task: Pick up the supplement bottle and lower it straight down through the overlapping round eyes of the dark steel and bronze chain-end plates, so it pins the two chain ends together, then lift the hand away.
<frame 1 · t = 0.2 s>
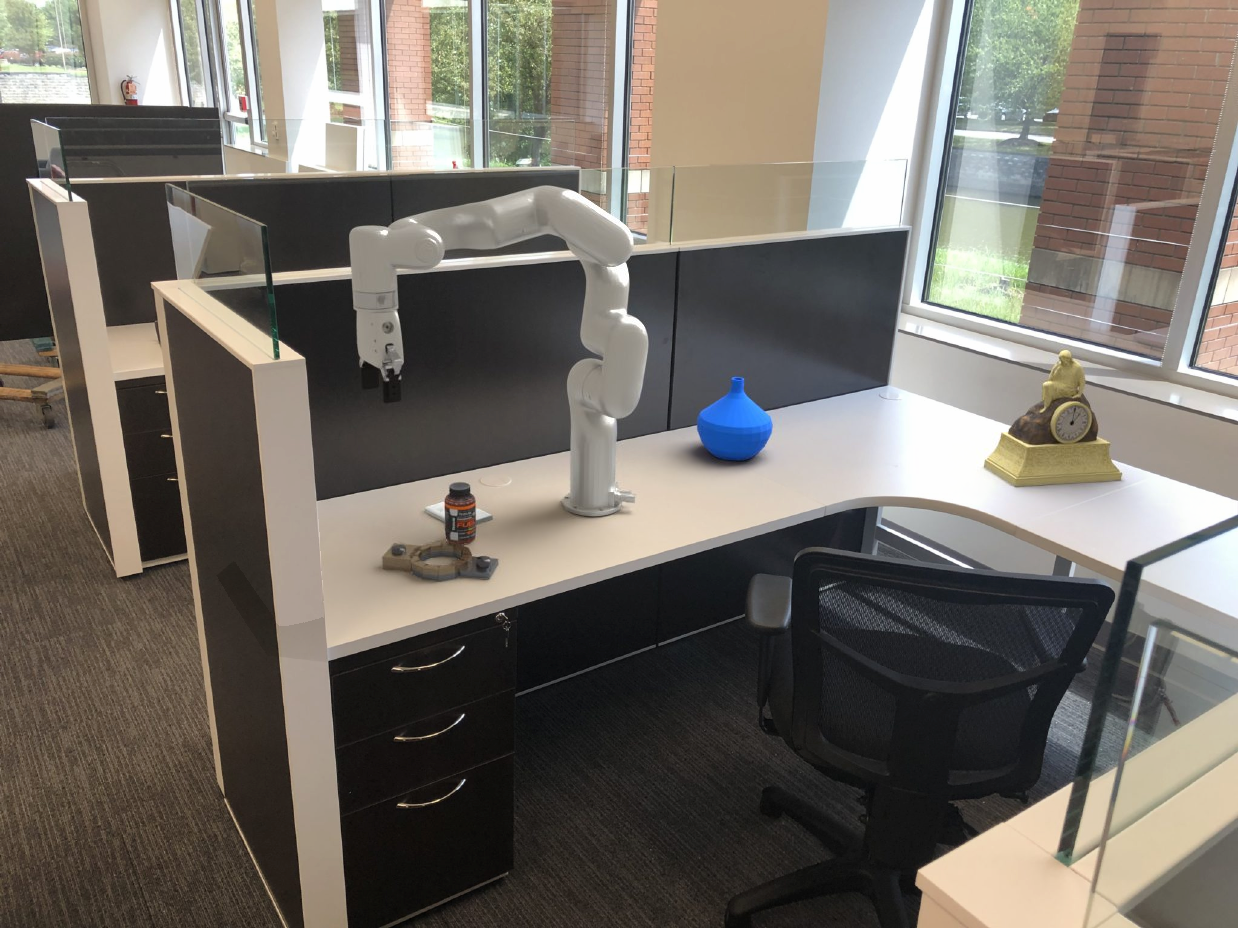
hand: (381, 395, 173), 30 cm above the table, tool pointing down, fingers open, 9 cm apart
vase: (732, 454, 238), on the table
supplement bottle: (461, 540, 189), on the table
external hard drive: (458, 518, 200), on the table
decorative clock: (1051, 474, 232), on the table
chain end 1: (441, 566, 177), on the table
chain end 2: (441, 566, 177), on the table
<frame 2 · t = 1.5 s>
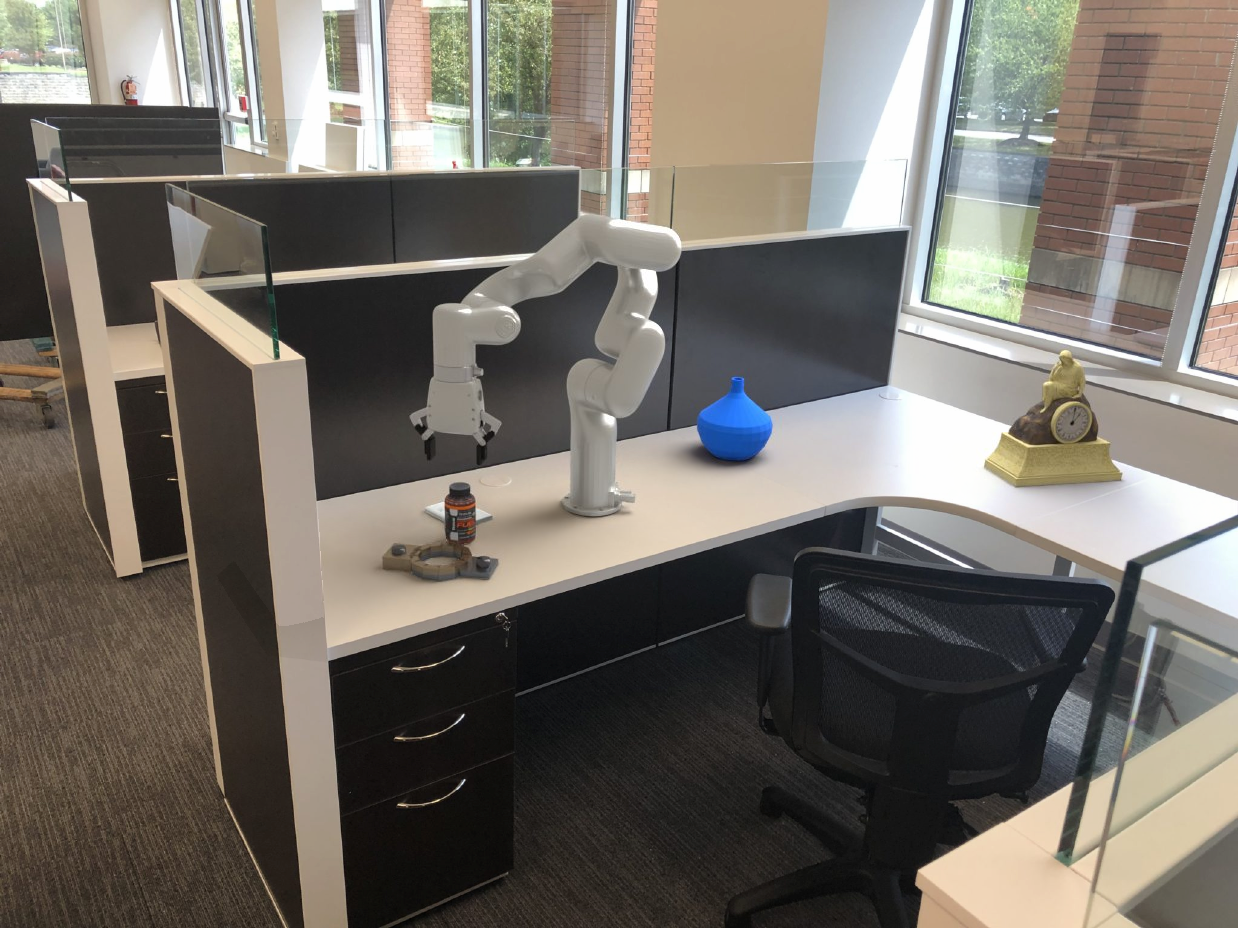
hand: (455, 460, 182), 16 cm above the table, tool pointing down, fingers open, 9 cm apart
nothing on the table moved.
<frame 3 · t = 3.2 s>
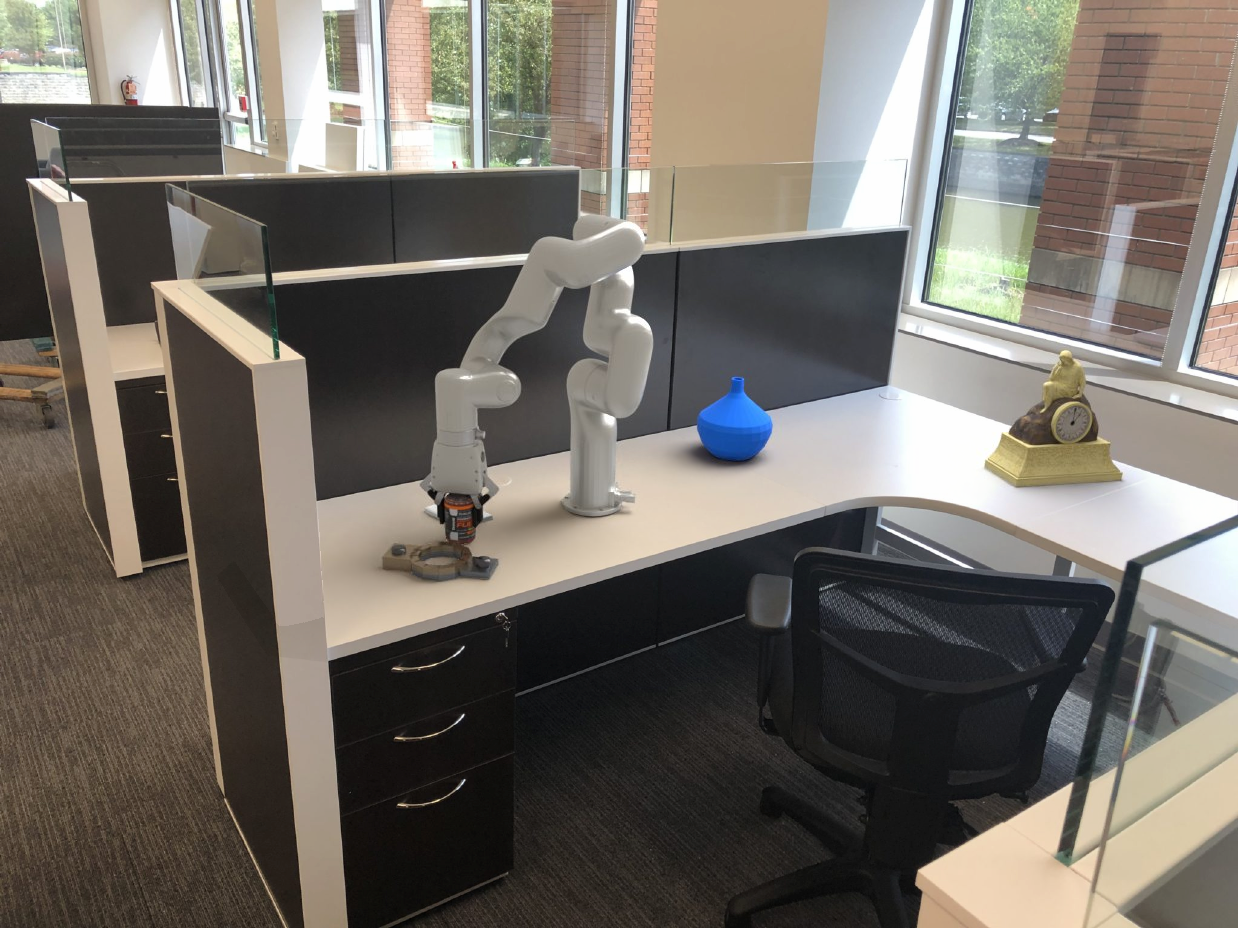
hand: (460, 522, 187), 4 cm above the table, tool pointing down, fingers closed on supplement bottle, 6 cm apart
supplement bottle: (461, 540, 189), on the table, touching gripper
everything else where it was.
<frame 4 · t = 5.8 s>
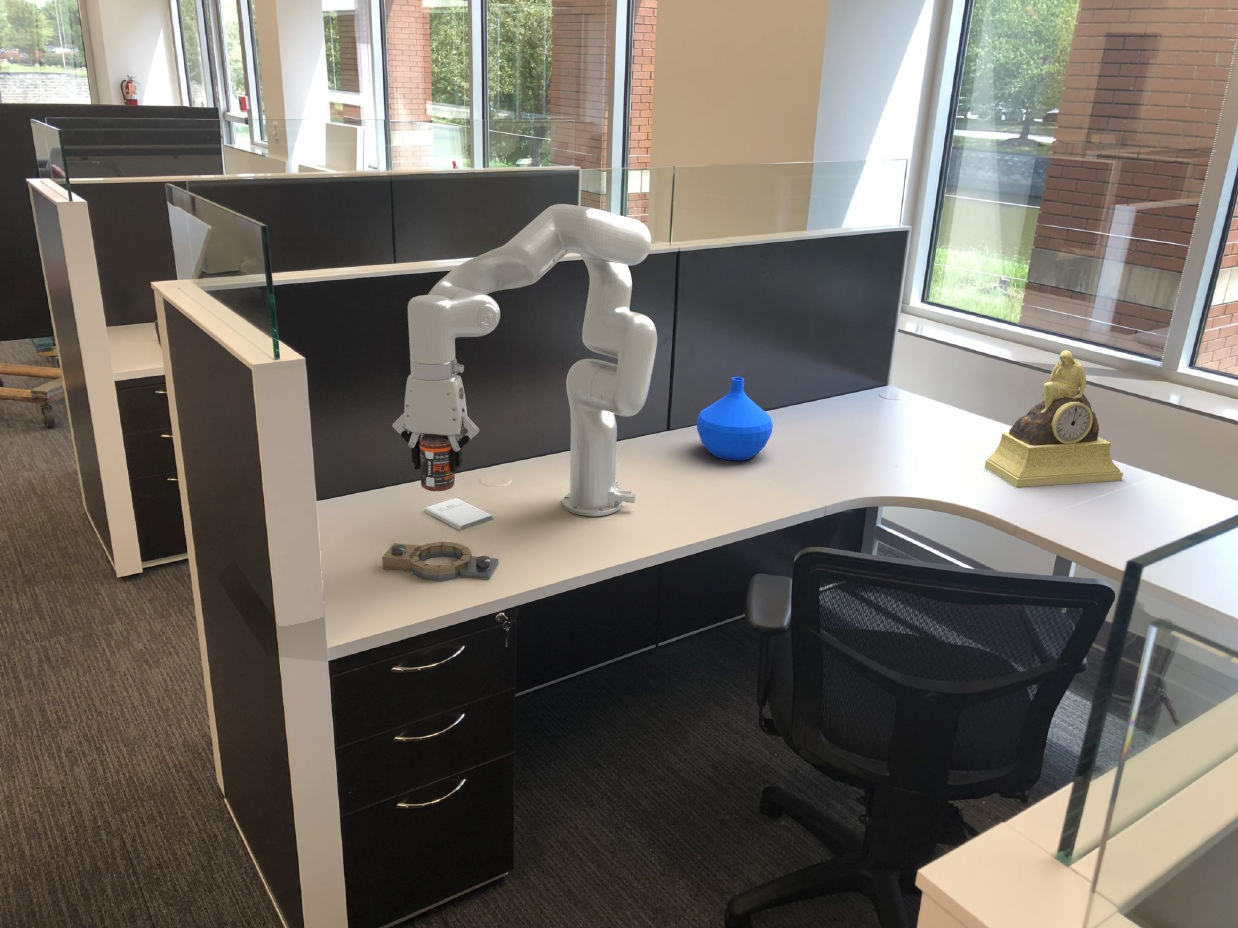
hand: (437, 467, 171), 19 cm above the table, tool pointing down, fingers closed on supplement bottle, 6 cm apart
supplement bottle: (438, 487, 172), point 16 cm above the table, touching gripper
everything else where it was.
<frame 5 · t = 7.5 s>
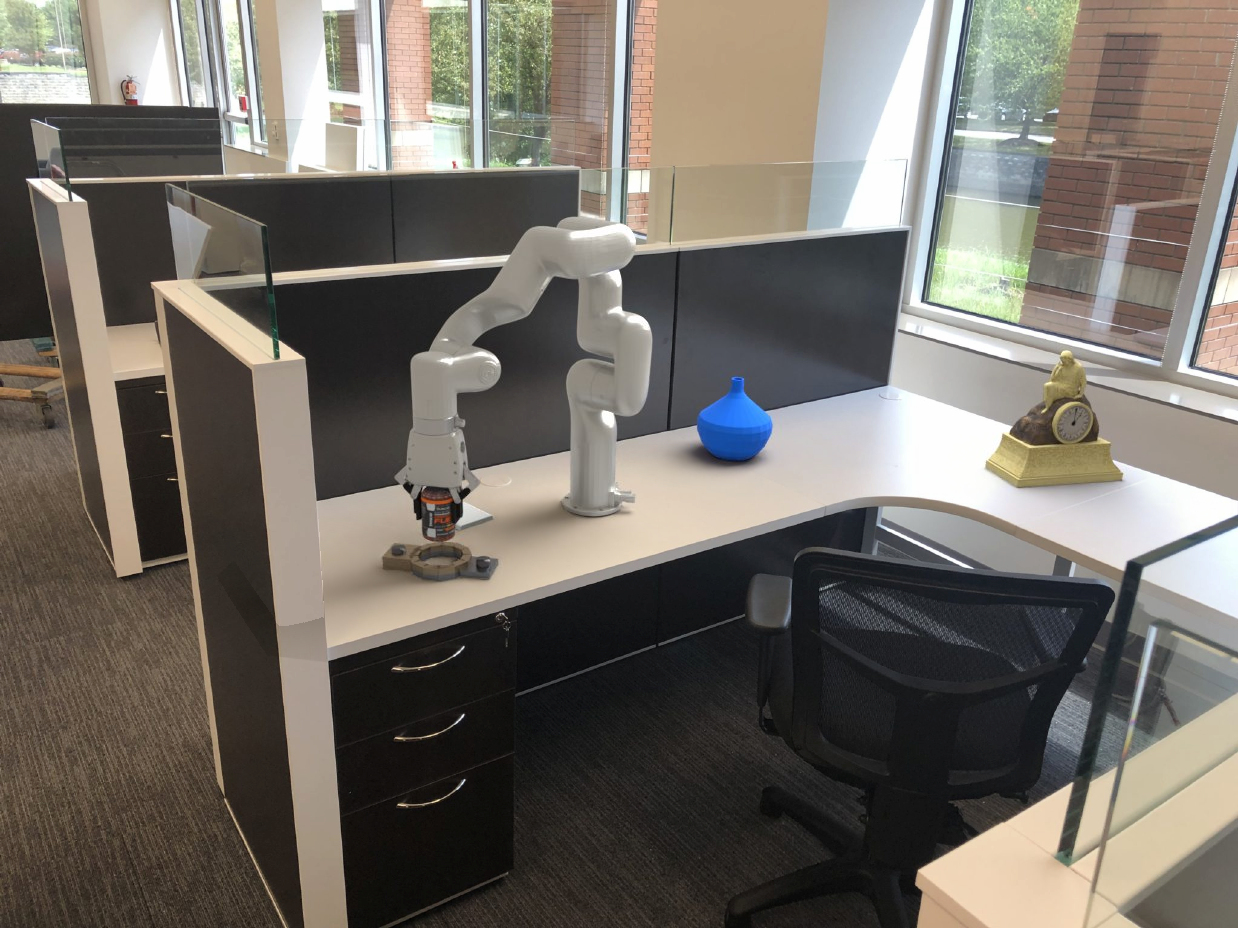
hand: (438, 518, 174), 10 cm above the table, tool pointing down, fingers closed on supplement bottle, 6 cm apart
supplement bottle: (439, 537, 175), point 6 cm above the table, touching gripper
everything else where it was.
when the fingers open (5 cm above the table, at t = 8.8 s): supplement bottle drops 2 cm, resting in chain end 2.
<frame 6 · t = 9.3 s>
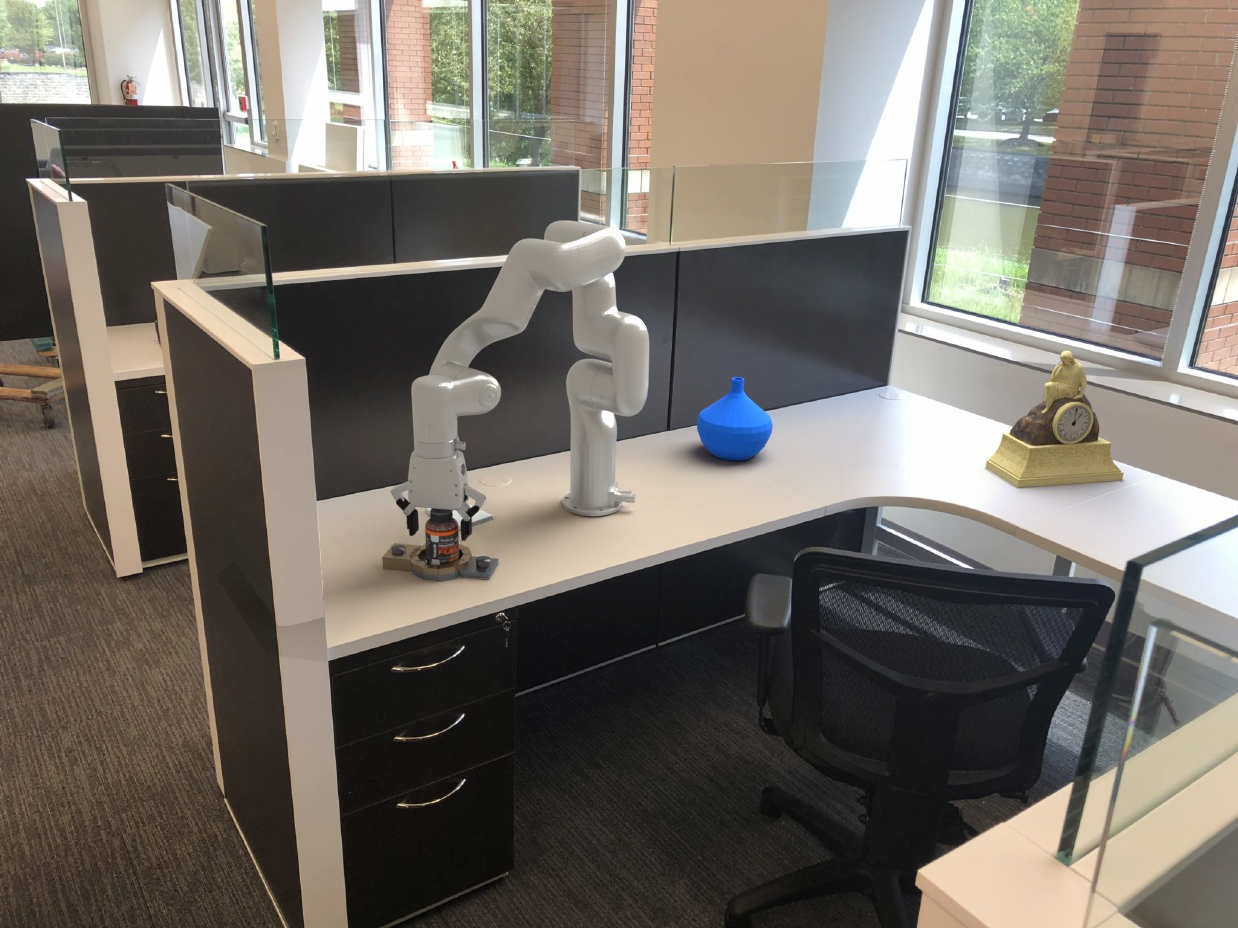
hand: (439, 535, 175), 6 cm above the table, tool pointing down, fingers open, 9 cm apart
supplement bottle: (443, 567, 178), resting in chain end 2
everything else where it was.
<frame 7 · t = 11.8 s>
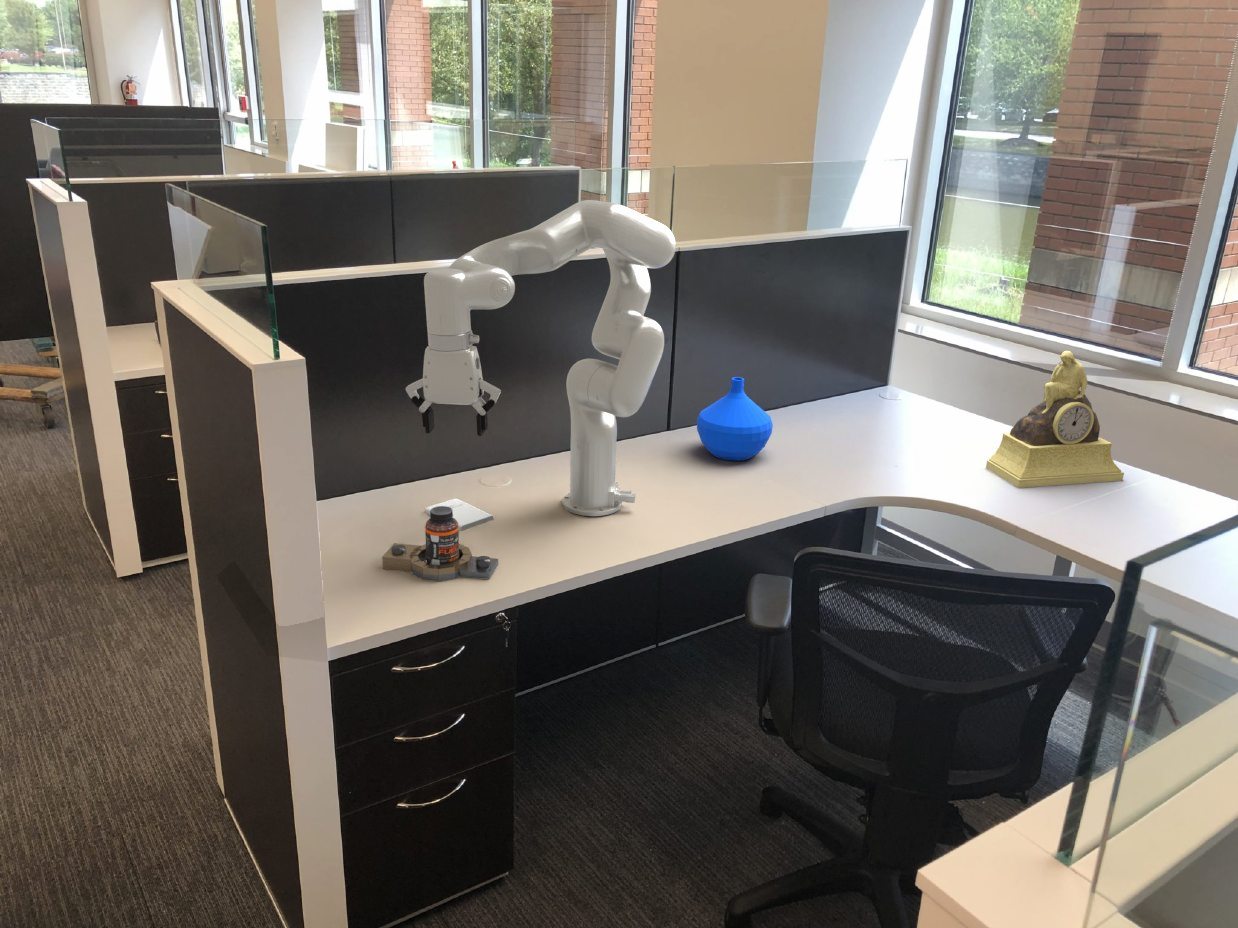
hand: (455, 432, 177), 23 cm above the table, tool pointing down, fingers open, 9 cm apart
nothing on the table moved.
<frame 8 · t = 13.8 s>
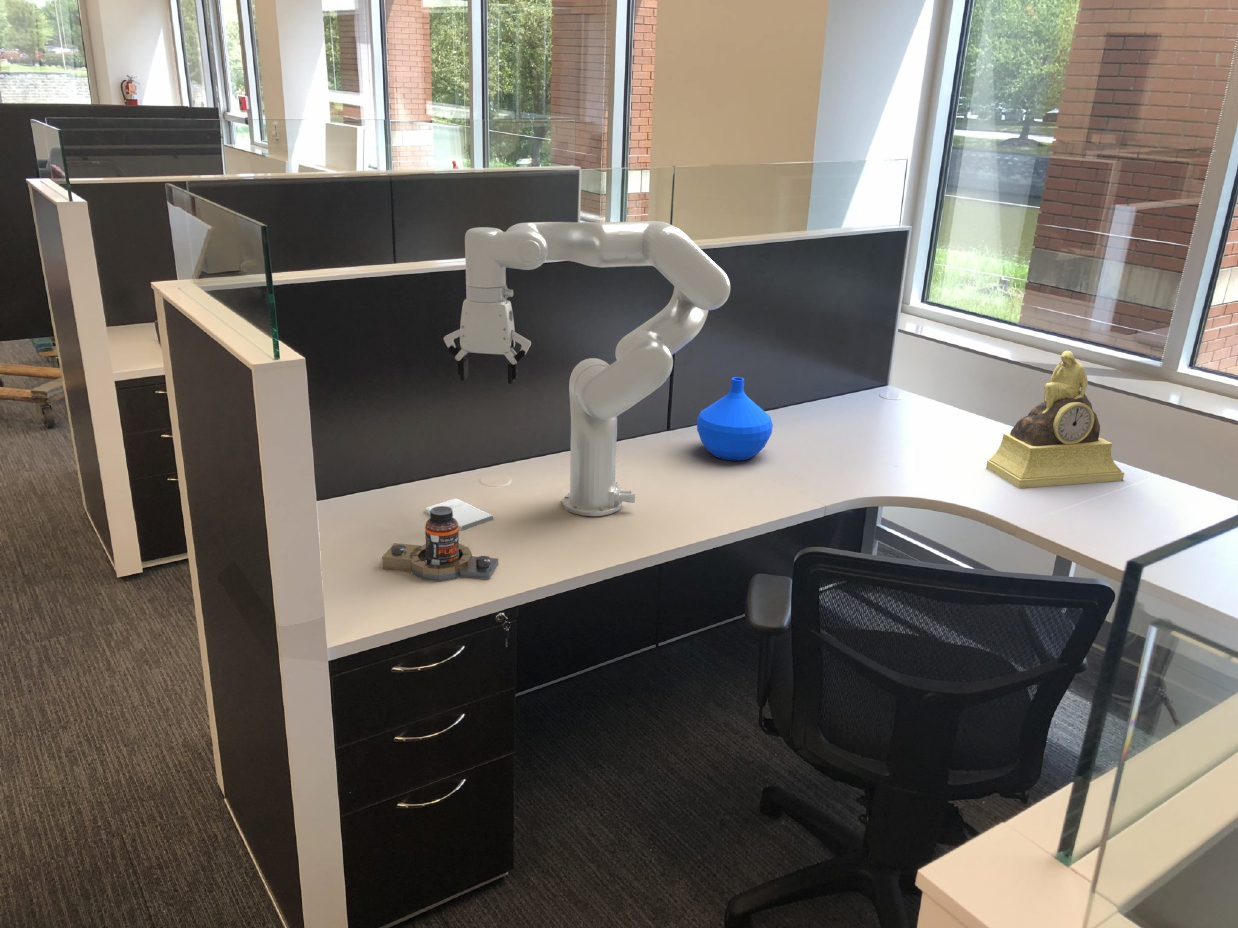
hand: (488, 380, 191), 28 cm above the table, tool pointing down, fingers open, 9 cm apart
nothing on the table moved.
at the end: supplement bottle 0.4 cm from the chain end 2 (horizontally); supplement bottle touching table; supplement bottle tilted 0° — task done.
